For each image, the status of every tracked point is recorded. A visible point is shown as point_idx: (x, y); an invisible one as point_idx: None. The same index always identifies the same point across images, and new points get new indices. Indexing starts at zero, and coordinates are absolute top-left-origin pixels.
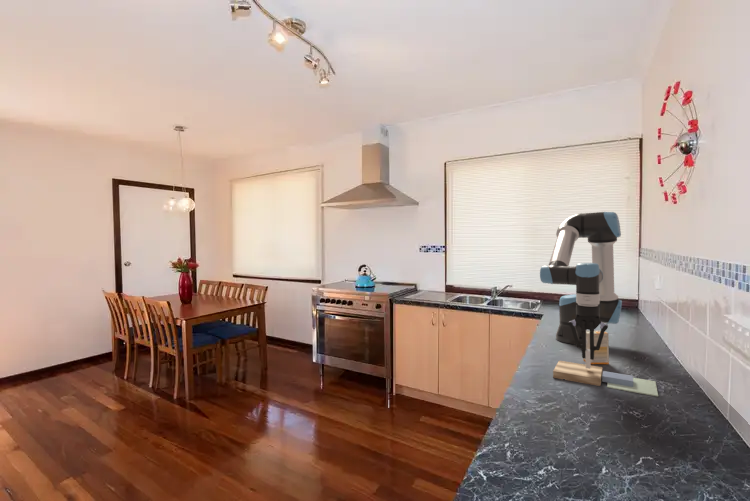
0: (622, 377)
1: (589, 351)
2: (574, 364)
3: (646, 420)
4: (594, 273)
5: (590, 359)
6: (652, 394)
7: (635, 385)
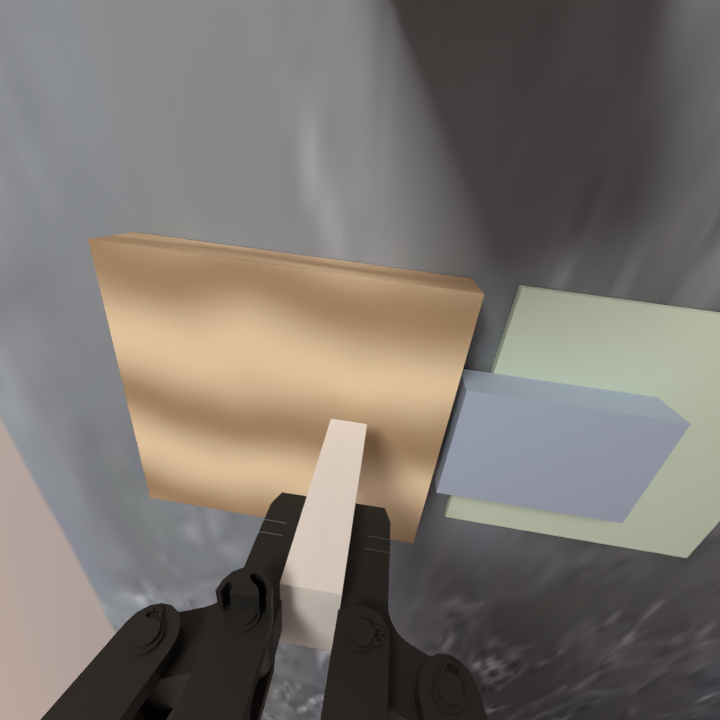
0: (575, 481)
1: (327, 647)
2: (238, 311)
3: (507, 692)
4: None
5: (356, 497)
6: (660, 553)
7: None
